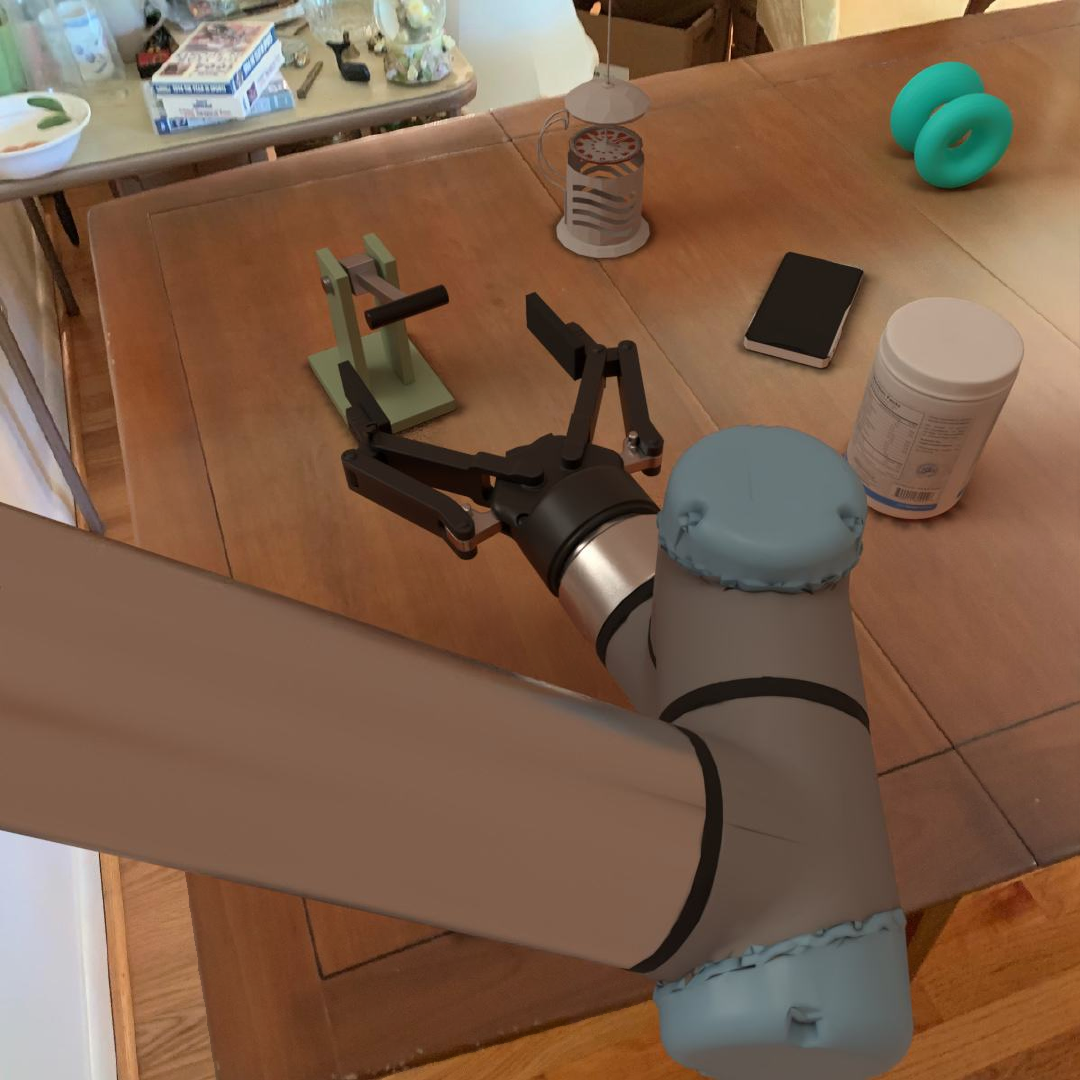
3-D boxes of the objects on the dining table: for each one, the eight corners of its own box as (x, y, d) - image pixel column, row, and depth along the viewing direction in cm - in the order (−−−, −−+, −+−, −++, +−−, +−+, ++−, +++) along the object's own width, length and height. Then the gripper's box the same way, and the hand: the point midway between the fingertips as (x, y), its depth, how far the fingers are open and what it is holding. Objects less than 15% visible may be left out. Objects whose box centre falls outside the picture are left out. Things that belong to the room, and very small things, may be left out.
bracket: (456, 409, 85) (440, 276, 74) (360, 447, 82) (329, 314, 72) (399, 333, 92) (378, 202, 81) (310, 366, 89) (274, 234, 78)
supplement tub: (901, 422, 83) (954, 277, 71) (987, 492, 78) (1060, 347, 66) (814, 468, 80) (855, 323, 68) (899, 543, 74) (958, 401, 63)
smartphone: (866, 268, 95) (829, 360, 86) (863, 279, 96) (826, 371, 87) (785, 250, 97) (741, 338, 88) (783, 260, 98) (739, 348, 89)
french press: (645, 262, 98) (664, -2, 79) (531, 252, 99) (522, -9, 80) (654, 207, 104) (674, -50, 85) (547, 199, 106) (542, -56, 86)
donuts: (960, 141, 111) (990, 52, 104) (998, 188, 105) (1032, 98, 97) (876, 149, 111) (899, 60, 103) (909, 197, 104) (936, 106, 97)
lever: (452, 311, 70) (445, 279, 69) (376, 339, 68) (366, 307, 67) (391, 273, 80) (383, 244, 79) (323, 296, 79) (314, 267, 77)
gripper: (412, 695, 52) (276, 451, 64) (782, 515, 59) (599, 326, 71) (392, 615, 46) (247, 363, 58) (806, 427, 54) (602, 237, 65)
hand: (441, 342), depth 65 cm, fingers open, 13 cm apart
